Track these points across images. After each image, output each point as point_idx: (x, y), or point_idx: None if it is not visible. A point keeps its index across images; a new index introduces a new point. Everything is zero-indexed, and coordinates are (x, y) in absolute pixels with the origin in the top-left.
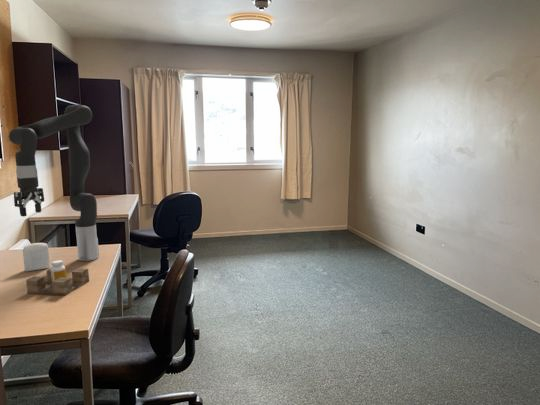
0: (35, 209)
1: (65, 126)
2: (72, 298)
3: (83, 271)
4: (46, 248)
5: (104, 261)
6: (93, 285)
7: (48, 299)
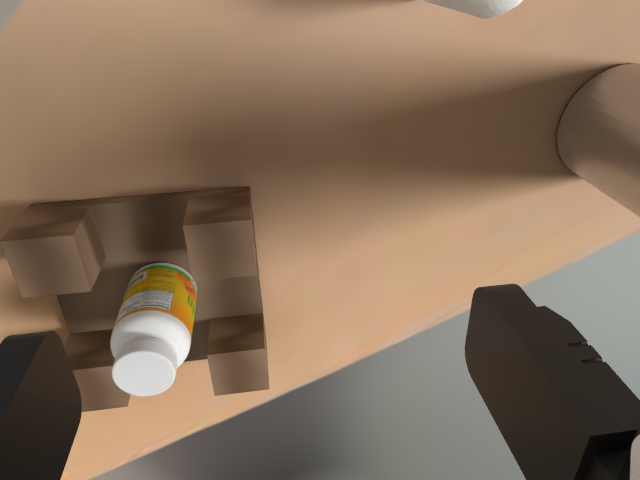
0: (503, 325)
1: None
2: None
3: (229, 392)
4: (477, 14)
5: (548, 239)
6: None
7: None
